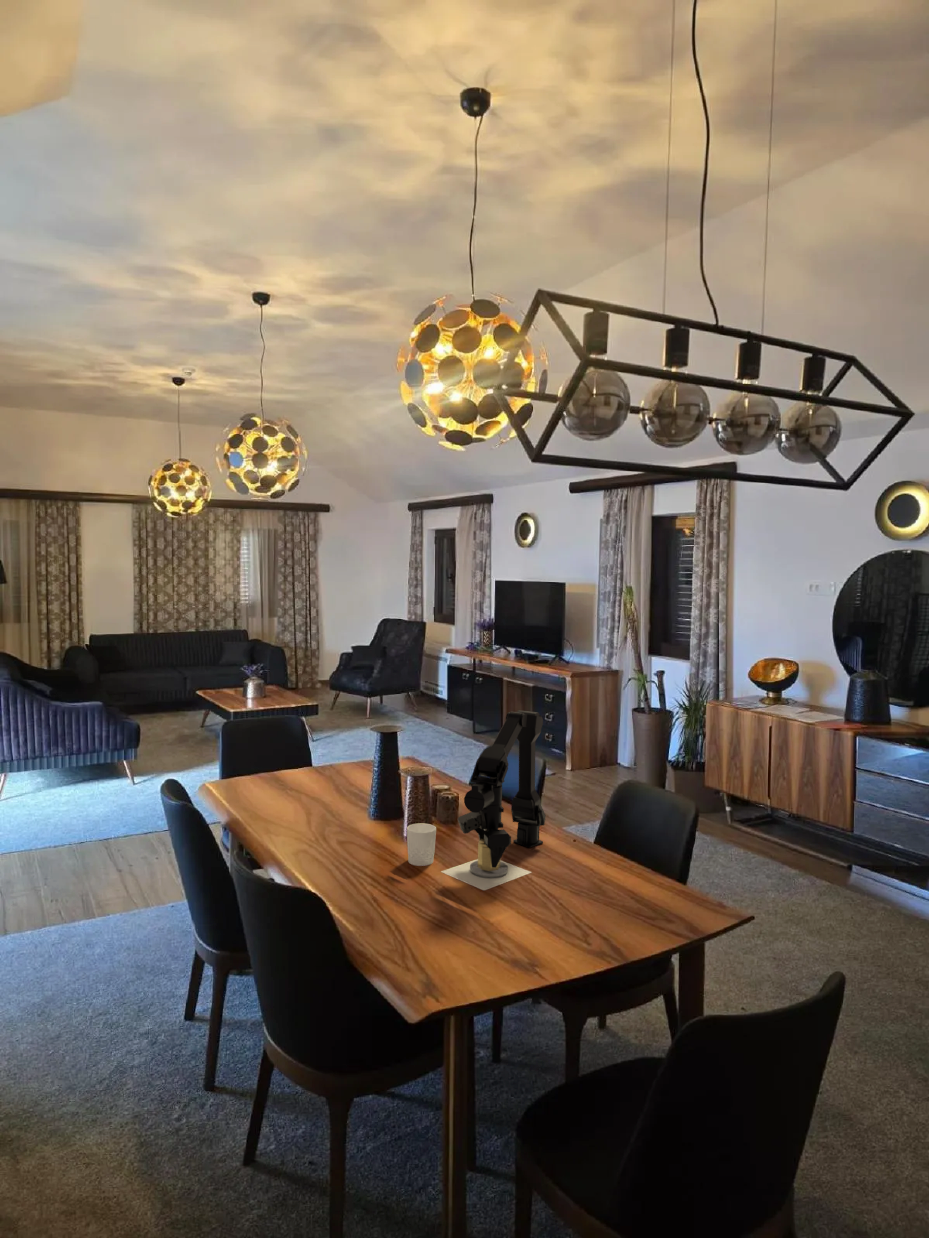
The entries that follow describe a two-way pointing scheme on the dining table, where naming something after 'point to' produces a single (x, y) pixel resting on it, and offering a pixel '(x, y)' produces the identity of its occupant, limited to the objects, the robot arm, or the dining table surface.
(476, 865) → the metal disc with knob
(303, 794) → the dining table surface
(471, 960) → the dining table surface
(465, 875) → the board
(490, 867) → the brown and gold cylinder
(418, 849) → the white cup
